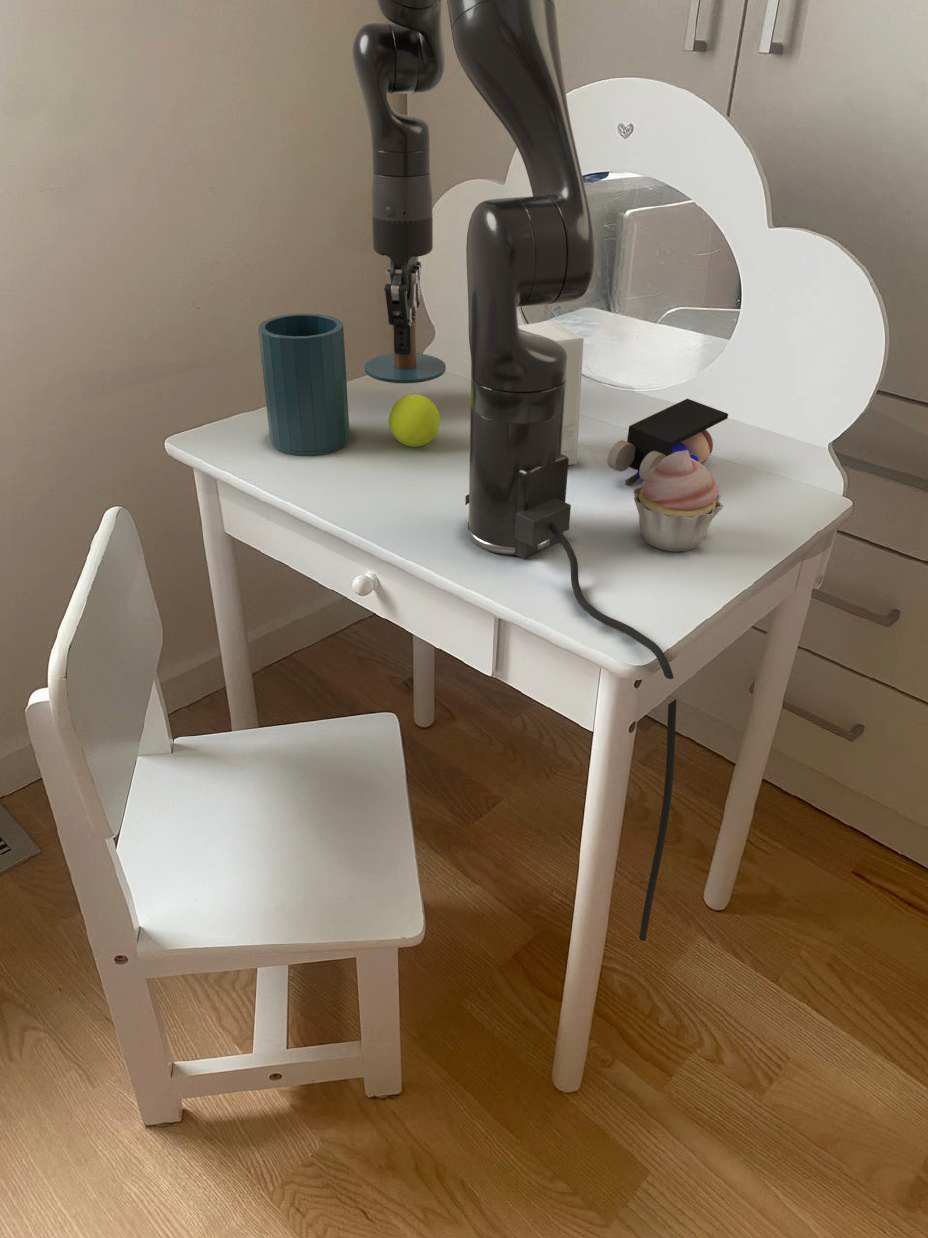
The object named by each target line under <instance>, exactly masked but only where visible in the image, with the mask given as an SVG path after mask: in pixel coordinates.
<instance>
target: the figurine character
mask: <svg viewBox="0 0 928 1238" xmlns="http://www.w3.org/2000/svg"><path fill="white" fill-rule="evenodd" d="M728 418H729V413H727V412H725V411H722V410H720V409H716V408H714V407H712V406H709V405H706V404H703V403H701V402H697V401H695V400H692V399H690V398H685V399H684V400H681V401H679V402H677V403H675V404H673V405H671V406H668V407H666V408H664V409H661V410H660V411H657V412H656V413H653V414H652V415H649V416H647V417H645V418H643V419H640V420H639V421H637V422H635V423H633V424H631V425H629V426H628V433H627V439H626V440H623V439H621V440H618V441H617V442H615V444H613V446H612V447H611V448H610V450H609V452H608V455H607V466H608V467H609V468H610V469H613V470H615V471H617V472H625V471H626V470H627V469H628V468H631V469H633V470H636V473H635V474H633V475H631V476H629V477H628V478H627V479H625V480H624V485H625V486H631V485H632V484H634V483H636V482H637V481H639V480H641V479H642V480H643V481H644V479H645V476H646V474H647V473H648V472H649V471H650V469H652V468H653V467H655V466H657V465H659V463H660V462H661V460H662V459H664V458H665V457H667V456H669V455H671V454H673V453H675V452H680V451H685V450H688V452H689V455H690V458H692V459H694V460H695V461H697V462H699V463H700V464H703V463H704V462H706V461H707V460H708V459H709V458H710V456H711V454H712V452H713V448H714V442H713V437H712V435H711V433H710V432H709V431H708V430H707V429H710V428H711V427H714V426H716V425H717V424H720V423H722V422H723V421H726V420H728Z"/></svg>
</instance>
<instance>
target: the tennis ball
mask: <svg viewBox="0 0 928 1238" xmlns="http://www.w3.org/2000/svg"><path fill="white" fill-rule="evenodd" d="M388 425H389V430H390V432H391V433H392V435H393V437H394V438H395V440H397V441H398V442H399V443H400V444H402V445H405V446H407V447H412V448H413V447H414V448H416V447H422V446H425V445H427V444H429V443H430V442H432V441H433V440H434V439H435V437H436V436H437V434H438V432H439V430H440V426H441V416H440V412H439V410H438V407H437V406H436V405H435V403H434V402H433V401H432V400H431V399H430V398H428V397H426V396H424V395H421V394H408V395H404V396H403V397H401V398H399V399H398V400H396V401H395V403H394V404H393V405H392V407H391V409H390V412H389V415H388Z"/></svg>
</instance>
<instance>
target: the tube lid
mask: <svg viewBox="0 0 928 1238" xmlns="http://www.w3.org/2000/svg"><path fill="white" fill-rule="evenodd" d="M411 320H412V324H411V352H410V354H408V355H403V354H396V353H395V352H394V351H393V353H387V354H382V355H378V356H375V357H373V358H371V359H369V360H367V361H366V363H364V373H365V374H366V375H367V376H368V377H370V378H372V379H373V380H377V381H379V382H385V383H391V384H419V383H425V382H429V381H433V380H436V379H438V378H440V377H442V376H443V375H444V374H445V373H446V370H447V366H446V363H445V362H444V361H443V360H442V359H440V358H438V357H436V356H433V355H430V354H424V353H418V352H417V321H416V319H415V320H413V319H411ZM392 337H393V338H392V339H393V341H392V342H393V343H394V327H393V326H392Z"/></svg>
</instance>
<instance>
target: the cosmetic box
mask: <svg viewBox="0 0 928 1238" xmlns="http://www.w3.org/2000/svg"><path fill="white" fill-rule="evenodd" d="M518 328H519V329H521V330H524V331H526V332H530V333H533V334H537V335H541V336H544V337H547V338H550V339H552V340H554V341H556V342H558V343H559V344H560V345H562V346H563V347H564V348H565V350H566V352H567V356H568V368H567V378H566V379H567V380H566V394H565V407H564V420H563V434H562V448H561V454H563V455H566V456H567V457H568V459H569V462H568V466H573V465H576V464H578V450H579V433H580V432H579V429H580V413H581V411H580V410H581V395H582V393H581V392H582V375H583V374H582V372H583V356H584V355H583V353H584V340H585V339H584V337H582V336H581V335H579V334H577V333H575V332H573V331H571V330H570V329H568V328H566V327H564V326H563V325H561V324H559V323H557V322H556V321H554V320H548V321H540V322H533V323H526V324H518Z"/></svg>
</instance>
